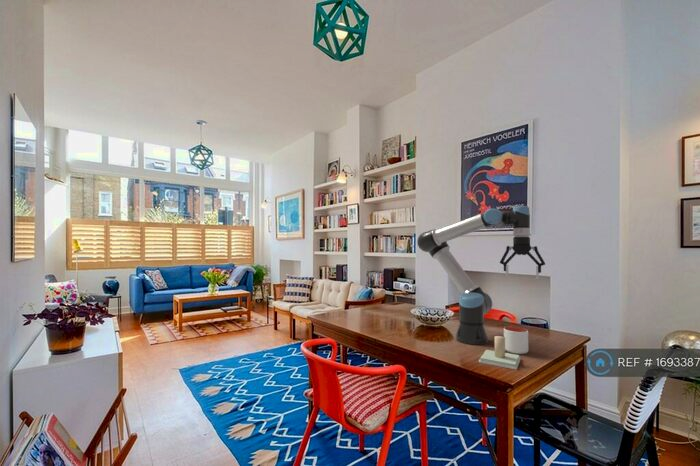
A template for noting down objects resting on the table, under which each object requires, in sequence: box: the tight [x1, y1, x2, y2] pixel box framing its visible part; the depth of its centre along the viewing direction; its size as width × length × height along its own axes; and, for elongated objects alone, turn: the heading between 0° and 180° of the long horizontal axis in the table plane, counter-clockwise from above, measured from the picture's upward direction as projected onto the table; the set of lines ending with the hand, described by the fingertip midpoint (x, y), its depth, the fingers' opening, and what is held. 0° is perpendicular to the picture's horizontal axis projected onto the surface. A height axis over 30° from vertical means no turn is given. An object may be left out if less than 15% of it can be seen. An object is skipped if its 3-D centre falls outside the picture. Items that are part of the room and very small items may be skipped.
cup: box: [503, 326, 529, 355], centre depth 149 cm, size 10×10×10 cm
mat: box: [478, 357, 522, 371], centre depth 136 cm, size 14×14×1 cm
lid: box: [479, 335, 520, 367], centre depth 136 cm, size 13×13×9 cm
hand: (522, 278), depth 164 cm, fingers open, 13 cm apart
